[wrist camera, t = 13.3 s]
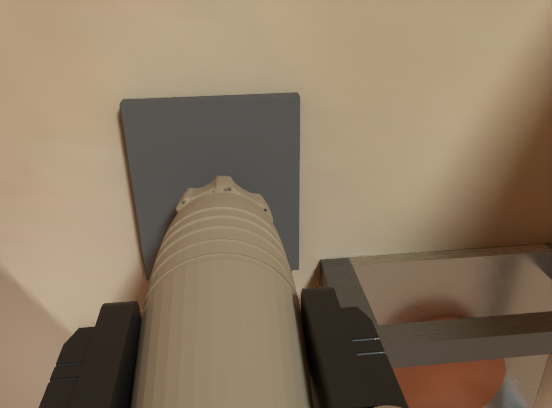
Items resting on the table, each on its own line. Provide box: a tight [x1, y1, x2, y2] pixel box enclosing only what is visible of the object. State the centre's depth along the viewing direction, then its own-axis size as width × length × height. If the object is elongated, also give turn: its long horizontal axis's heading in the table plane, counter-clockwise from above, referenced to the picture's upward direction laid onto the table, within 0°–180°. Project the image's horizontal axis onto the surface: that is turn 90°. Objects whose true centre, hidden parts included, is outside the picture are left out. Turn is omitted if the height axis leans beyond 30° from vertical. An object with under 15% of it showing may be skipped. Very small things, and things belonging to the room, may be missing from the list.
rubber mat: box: [120, 93, 300, 280], centre depth 19 cm, size 7×6×1 cm
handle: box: [130, 176, 314, 408], centre depth 11 cm, size 5×6×15 cm
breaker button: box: [392, 316, 506, 408], centre depth 23 cm, size 5×5×1 cm
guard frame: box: [320, 244, 552, 408], centre depth 21 cm, size 11×11×5 cm
